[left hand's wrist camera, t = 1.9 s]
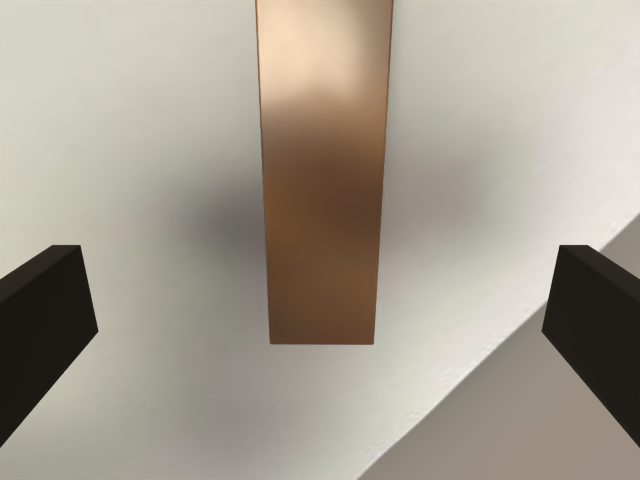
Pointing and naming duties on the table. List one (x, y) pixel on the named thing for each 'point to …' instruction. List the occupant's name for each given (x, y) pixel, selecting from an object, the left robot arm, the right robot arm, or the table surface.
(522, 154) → the table surface
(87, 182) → the table surface
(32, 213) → the table surface
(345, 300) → the beam
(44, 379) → the left robot arm
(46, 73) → the table surface
